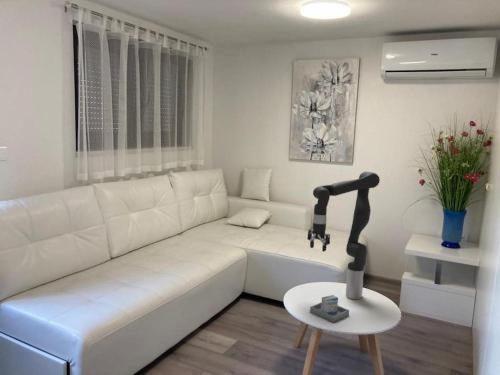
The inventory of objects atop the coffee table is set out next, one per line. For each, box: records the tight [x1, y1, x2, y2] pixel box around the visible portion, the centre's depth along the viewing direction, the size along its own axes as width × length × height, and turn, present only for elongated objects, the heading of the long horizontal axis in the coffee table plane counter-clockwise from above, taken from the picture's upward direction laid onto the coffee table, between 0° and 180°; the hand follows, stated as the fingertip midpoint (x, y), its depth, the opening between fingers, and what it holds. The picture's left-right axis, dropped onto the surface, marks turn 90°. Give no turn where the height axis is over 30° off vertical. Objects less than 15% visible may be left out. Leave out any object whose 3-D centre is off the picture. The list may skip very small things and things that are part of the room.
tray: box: [309, 301, 350, 324], centre depth 216 cm, size 14×16×3 cm
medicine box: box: [320, 294, 339, 315], centre depth 216 cm, size 8×4×9 cm, turn 119°
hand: (317, 249), depth 231 cm, fingers open, 8 cm apart
